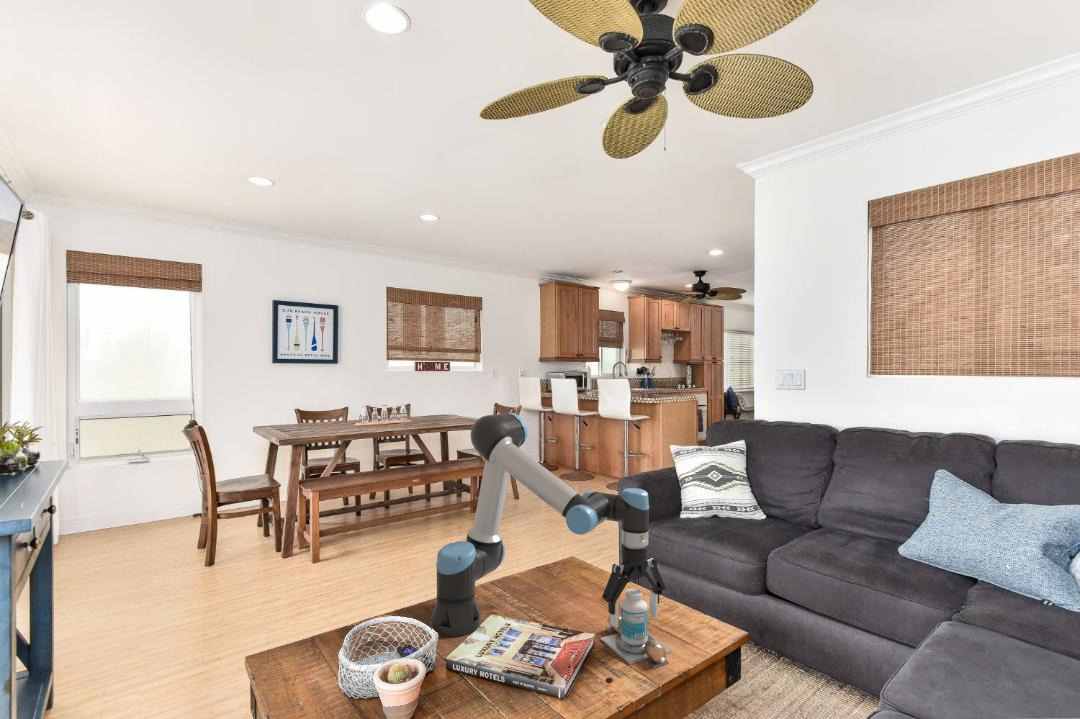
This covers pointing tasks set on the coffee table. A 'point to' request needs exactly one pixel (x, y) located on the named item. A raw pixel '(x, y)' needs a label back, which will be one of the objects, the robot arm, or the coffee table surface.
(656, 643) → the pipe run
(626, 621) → the pill bottle
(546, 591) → the coffee table surface
